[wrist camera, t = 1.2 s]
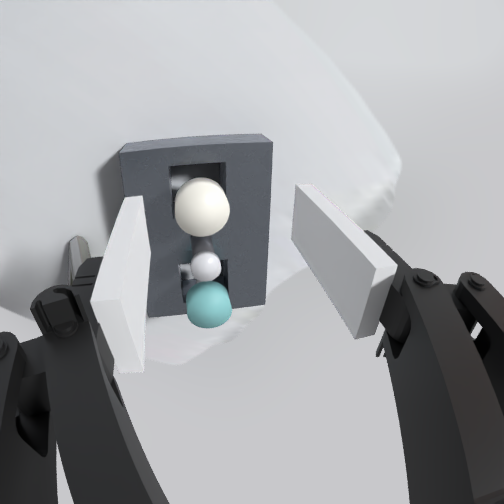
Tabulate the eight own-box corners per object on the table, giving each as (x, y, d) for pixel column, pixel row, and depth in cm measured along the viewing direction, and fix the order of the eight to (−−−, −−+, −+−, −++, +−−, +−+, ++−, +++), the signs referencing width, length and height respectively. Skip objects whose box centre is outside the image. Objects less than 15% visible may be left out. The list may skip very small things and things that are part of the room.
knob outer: (186, 292, 41) (189, 330, 35) (182, 260, 39) (184, 297, 33) (223, 288, 42) (232, 325, 36) (221, 256, 40) (231, 292, 34)
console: (150, 294, 45) (148, 317, 40) (126, 143, 33) (119, 153, 29) (256, 283, 48) (265, 304, 44) (261, 133, 36) (272, 142, 32)
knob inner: (176, 208, 35) (177, 239, 29) (173, 166, 33) (172, 188, 27) (220, 204, 36) (230, 234, 30) (219, 163, 34) (229, 184, 28)
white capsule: (189, 252, 37) (192, 282, 32) (187, 229, 35) (189, 257, 30) (214, 249, 37) (221, 279, 32) (213, 227, 36) (220, 254, 31)
